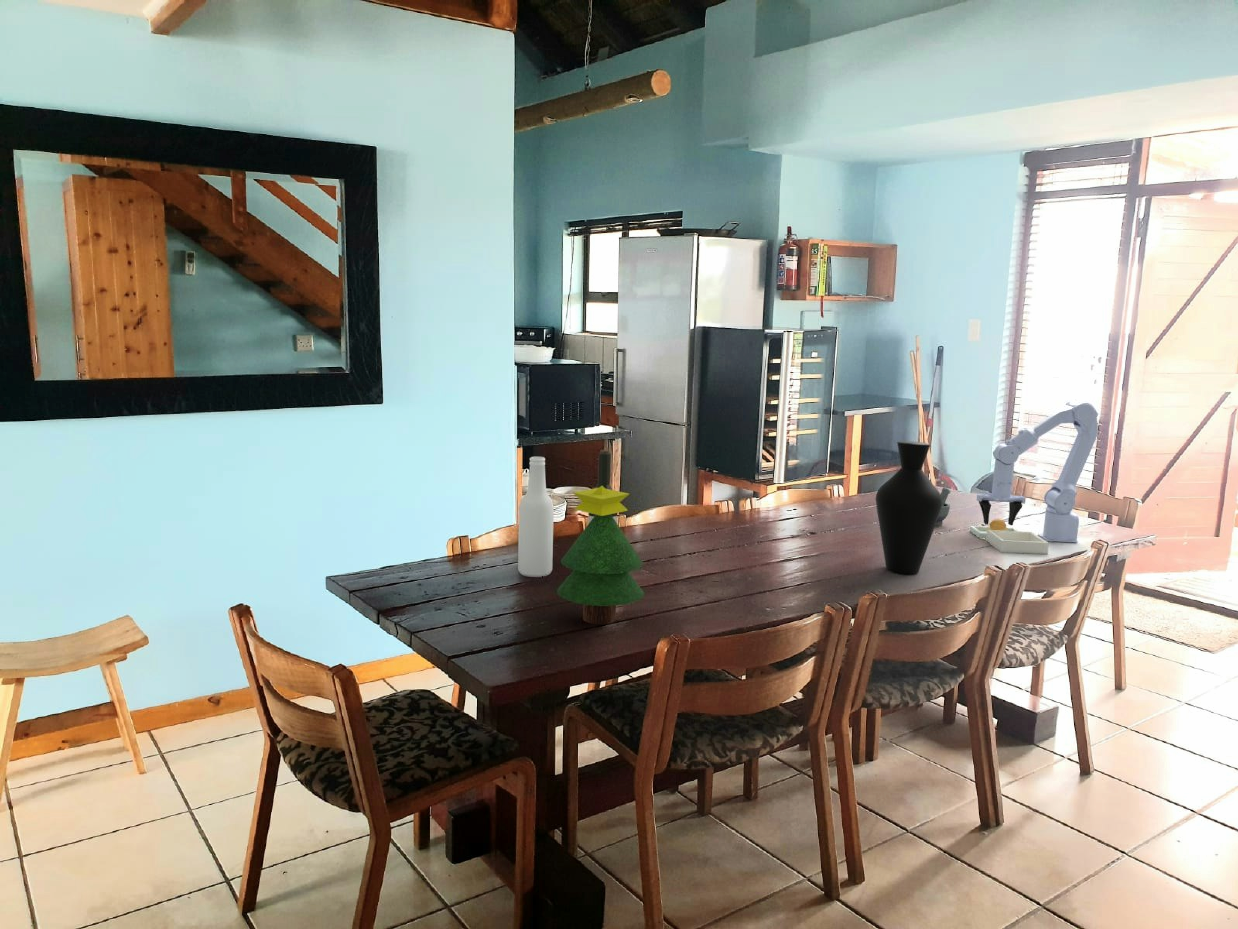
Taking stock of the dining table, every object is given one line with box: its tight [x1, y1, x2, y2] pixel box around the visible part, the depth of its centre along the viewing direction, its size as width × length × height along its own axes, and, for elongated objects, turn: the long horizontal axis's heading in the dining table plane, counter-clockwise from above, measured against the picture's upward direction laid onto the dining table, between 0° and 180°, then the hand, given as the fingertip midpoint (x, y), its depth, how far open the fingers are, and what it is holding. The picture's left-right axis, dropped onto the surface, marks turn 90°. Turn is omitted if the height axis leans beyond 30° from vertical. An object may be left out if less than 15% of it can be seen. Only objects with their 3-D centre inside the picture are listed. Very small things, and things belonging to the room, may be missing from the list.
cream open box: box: [985, 530, 1050, 555], centre depth 288 cm, size 14×14×4 cm
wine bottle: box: [587, 449, 619, 525], centre depth 256 cm, size 8×8×30 cm
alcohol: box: [517, 456, 555, 578], centre depth 241 cm, size 9×9×30 cm
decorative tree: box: [556, 486, 645, 625], centre depth 207 cm, size 19×19×30 cm
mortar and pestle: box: [935, 487, 951, 527], centre depth 315 cm, size 11×9×12 cm
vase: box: [875, 440, 942, 576], centre depth 255 cm, size 17×17×35 cm
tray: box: [969, 525, 1019, 540], centre depth 302 cm, size 14×10×2 cm
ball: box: [988, 518, 1007, 531], centre depth 301 cm, size 5×5×5 cm
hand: (998, 524), depth 301 cm, fingers open, 7 cm apart
